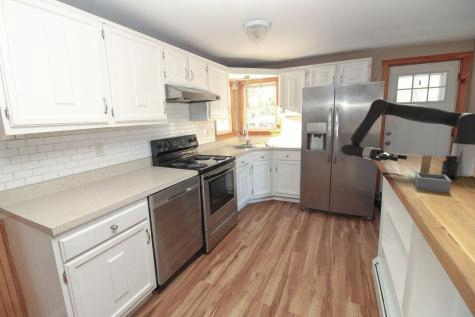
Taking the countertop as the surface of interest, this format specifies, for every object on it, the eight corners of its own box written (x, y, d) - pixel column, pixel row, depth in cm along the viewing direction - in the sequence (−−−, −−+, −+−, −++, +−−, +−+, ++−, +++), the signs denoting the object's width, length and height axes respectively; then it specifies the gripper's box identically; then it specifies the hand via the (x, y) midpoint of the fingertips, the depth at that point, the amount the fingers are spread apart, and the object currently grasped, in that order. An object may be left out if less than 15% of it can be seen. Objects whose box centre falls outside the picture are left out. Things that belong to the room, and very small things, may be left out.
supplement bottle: (461, 180, 116) (465, 157, 114) (445, 179, 117) (449, 156, 115) (451, 176, 123) (455, 154, 120) (436, 176, 124) (440, 154, 122)
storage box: (413, 184, 111) (415, 172, 110) (443, 187, 105) (446, 175, 104) (416, 190, 102) (417, 177, 101) (449, 195, 96) (451, 181, 95)
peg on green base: (409, 176, 124) (412, 152, 121) (435, 179, 118) (439, 154, 116) (410, 181, 115) (414, 156, 112) (439, 185, 109) (443, 158, 107)
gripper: (366, 148, 135) (395, 152, 120) (381, 146, 141) (410, 150, 127) (364, 161, 136) (393, 166, 122) (379, 158, 142) (408, 163, 128)
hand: (402, 158), depth 124 cm, fingers open, 8 cm apart
